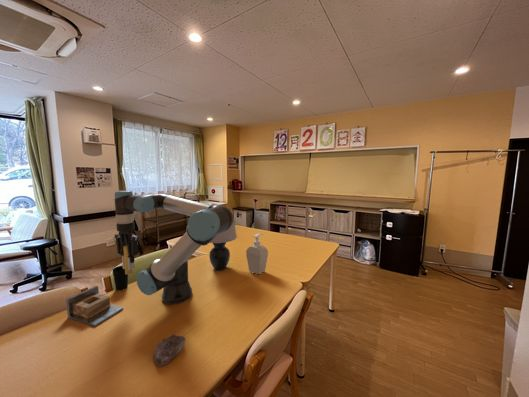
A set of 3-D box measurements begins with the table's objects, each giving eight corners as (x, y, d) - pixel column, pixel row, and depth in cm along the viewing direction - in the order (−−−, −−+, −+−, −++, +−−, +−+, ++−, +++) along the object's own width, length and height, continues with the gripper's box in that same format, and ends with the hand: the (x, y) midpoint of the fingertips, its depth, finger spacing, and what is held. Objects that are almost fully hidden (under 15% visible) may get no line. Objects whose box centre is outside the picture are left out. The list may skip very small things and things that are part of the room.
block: (110, 306, 108) (109, 296, 107) (88, 318, 98) (87, 308, 98) (96, 302, 111) (95, 292, 110) (73, 314, 102) (72, 303, 101)
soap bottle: (269, 271, 150) (269, 234, 147) (260, 276, 142) (260, 237, 139) (255, 266, 157) (255, 231, 154) (246, 271, 149) (245, 234, 146)
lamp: (194, 270, 151) (192, 212, 146) (219, 259, 171) (218, 208, 167) (220, 279, 138) (219, 216, 134) (243, 265, 158) (243, 211, 154)
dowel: (134, 272, 112) (132, 245, 110) (128, 274, 109) (126, 247, 107) (129, 271, 113) (127, 244, 111) (123, 273, 110) (121, 246, 108)
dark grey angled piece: (123, 309, 107) (121, 291, 106) (94, 326, 95) (93, 307, 94) (97, 302, 113) (96, 285, 112) (67, 317, 101) (65, 299, 100)
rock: (146, 364, 76) (146, 352, 76) (169, 340, 87) (169, 330, 87) (166, 370, 74) (165, 357, 74) (187, 345, 85) (187, 334, 85)
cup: (122, 292, 123) (120, 271, 121) (110, 290, 124) (108, 270, 123) (132, 285, 130) (131, 266, 129) (121, 284, 132) (120, 265, 130)
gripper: (144, 221, 109) (147, 267, 111) (120, 219, 114) (123, 263, 117) (130, 225, 102) (133, 273, 104) (106, 222, 107) (109, 268, 110)
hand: (128, 268), depth 111 cm, fingers closed on dowel, 3 cm apart
